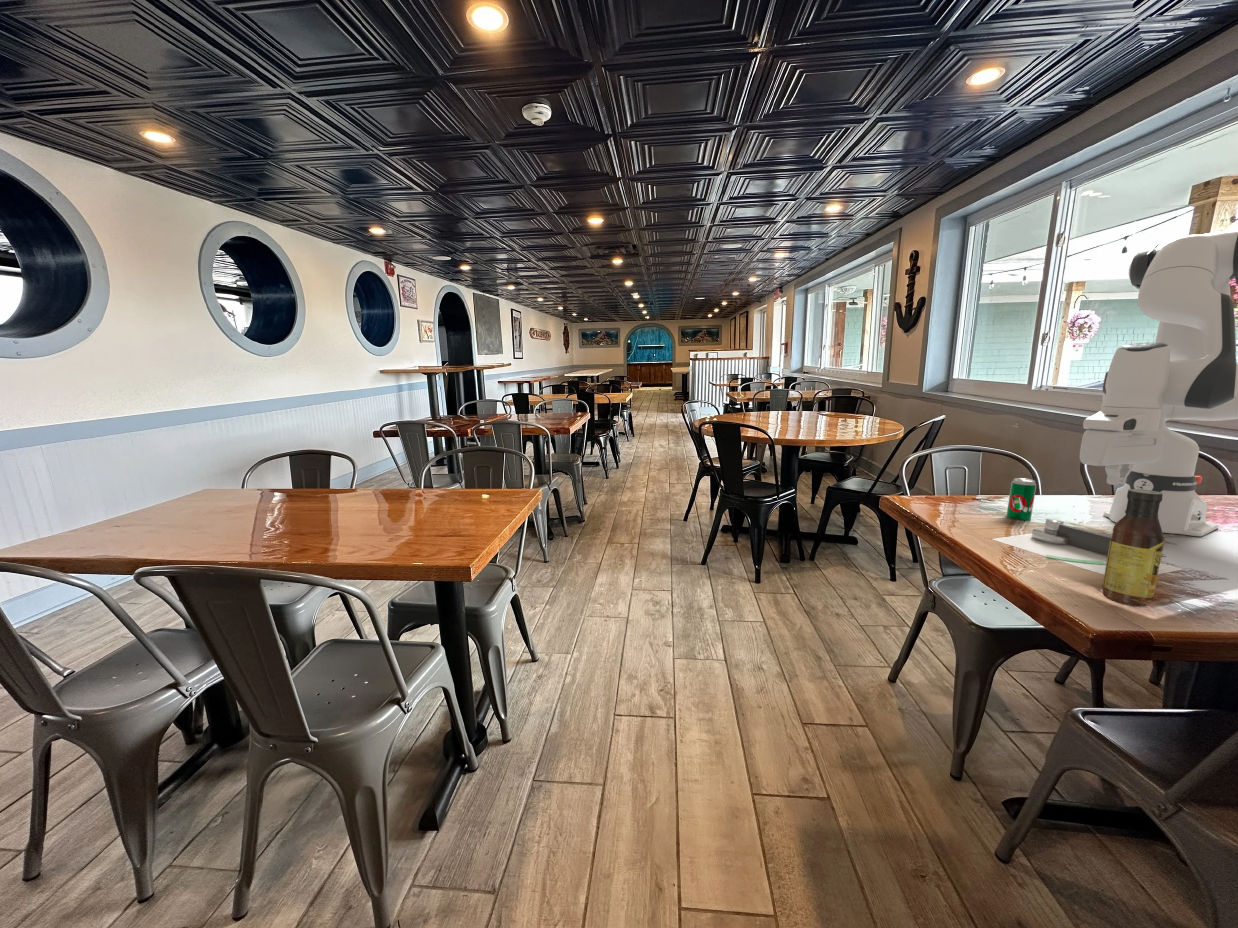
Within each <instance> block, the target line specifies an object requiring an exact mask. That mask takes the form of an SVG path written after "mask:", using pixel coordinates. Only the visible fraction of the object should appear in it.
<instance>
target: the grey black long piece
mask: <svg viewBox="0 0 1238 928" xmlns="http://www.w3.org/2000/svg"><path fill="white" fill-rule="evenodd" d="M1031 533H1032V537H1033V538H1034V539H1036V540H1039V541H1042V542H1047V543H1052V544H1059V545H1070V546H1073V547H1077V548H1080V549H1084V550H1087V551H1091V552H1094V553H1098V554H1101V555H1105V556H1108V551H1109V545H1110V540H1111V539H1112V535H1111V536H1110V535H1106V534H1103V533H1099V532H1095V531H1091V530H1087V529H1083V528H1079V527H1074V526H1071V525H1068V524H1064V521H1062V520H1059V519H1055V518H1046V519H1045V522H1044V527H1043V528H1041V527H1040V528H1039V527H1038V528H1034V529H1032V532H1031Z"/></svg>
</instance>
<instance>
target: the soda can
mask: <svg viewBox="0 0 1238 928" xmlns="http://www.w3.org/2000/svg"><path fill="white" fill-rule="evenodd" d="M1036 489H1037V483H1036V480H1034V479H1031V478H1025V477H1024V478H1023V477H1014V478H1013V480H1012V481H1011V483H1010V490H1009V496H1008V497H1009V498H1008V503H1007V510H1006V516H1005V517H1007V518H1008V519H1012V520H1015V521H1023V522H1025V521H1031V520H1032V516H1033V515H1032V514H1033V510H1034V509H1033V507H1034V503H1035V502H1034V501H1035V496H1036Z"/></svg>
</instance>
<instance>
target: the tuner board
mask: <svg viewBox="0 0 1238 928" xmlns="http://www.w3.org/2000/svg"><path fill="white" fill-rule="evenodd" d="M991 540H992V541H996V542H999V543H1002V544H1004V545H1008V546H1011V547H1015V548H1018V549H1019V550H1020V549H1021V550H1024V551H1025V552H1026V551H1027V552H1030V553H1033V554H1036V555H1038V556H1039V555H1040V556H1043V557H1046V558H1047V559H1050V560H1051V559H1052V560H1055V561H1059V562H1061V563H1064V564H1068V565H1071V566H1074V567H1077V568H1080V569H1084V570H1087V571H1090V572H1093V573H1096V574H1100V575H1102V576H1104V574H1105V569H1106V563H1107V557H1108V556H1105V555H1101V554H1098V553H1094V552H1091V551H1087V550H1084V549H1080V548H1077V547H1073V546H1070V545H1059V544H1052V543H1047V542H1042V541H1039V540H1036V539H1034V538H1033V537H1032V532H1031V533H1030V532H1029V533H1026V534H1025V533H1024V534H1018V535H1017V534H1015V535H1011V536H1003V537H996V538H991ZM1182 570H1184V569H1183V568H1180V567H1176V566H1173V565H1170V564H1165V563H1161V562H1160V566H1159V571H1158V575H1163V574H1166V573H1171V572H1177V571H1182Z"/></svg>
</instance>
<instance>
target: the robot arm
mask: <svg viewBox="0 0 1238 928" xmlns="http://www.w3.org/2000/svg"><path fill="white" fill-rule="evenodd" d="M1128 278H1129V281H1130V283H1131V285H1132V286H1133V287H1135V288H1137V289H1139V290H1138V293H1137V295H1138V297H1137V306H1138V308H1139V310H1140V311H1141V312H1142V313H1143V314H1144V315H1146V316H1147V317H1149V318H1151V319H1152V320H1156V321H1158V327H1157V332H1156V337H1155V341H1154V342H1137V343H1129V344H1124V345H1122V346H1119V347H1118V348H1116V350H1115V353H1114V354H1113V356H1112V360H1111V362H1110V364H1109V368H1108V371H1106V372H1105V375H1104V379H1103V385H1102V393H1103V394H1102V397H1101V399H1102V403H1101V406H1100V411H1097V412H1096V413H1095V414H1092V415H1091V416H1088V417H1087V418H1085V419H1083V424H1082V428H1083V429H1085V431H1084V432H1083V435H1082V437H1081V441H1080V449H1079V460H1080V462H1081V464H1083V465H1088V466H1095V467H1104V466H1105V467H1104V469H1105V474H1106V476H1107V477H1106V483H1107V484H1108V485H1113V486H1117V485H1123V486H1121V487H1117V489H1116V491H1115V493H1114V497H1113V500H1112V503H1111V507H1110V511H1104V512H1103V516H1104V517H1105V518H1106V517H1107V518H1109V519H1110V521H1112V522H1113V523H1115V524H1116V523H1117V522H1118V521H1119V520H1120V519H1122V518H1123V517H1124V516H1125V515H1126V513H1125V510H1126V509H1127V503H1128V499H1127V494H1128V490H1129V489H1142V490H1151V491H1156V492H1161V493H1162V494H1163V497H1162V501H1161V502H1160V504H1159V511H1158V519H1159V522H1160V526H1161V529H1162V533H1163V534H1165V533H1166V534H1177V535H1186V536H1194V537H1203V536H1205V535H1207V534H1210V533H1211V532H1213V531H1215V530H1217V529H1218V528H1219V523H1215V522H1212V521H1208V520H1206V517H1207V513H1208V504H1207V503H1206V502H1205V501H1204V500H1203V499H1202V498H1201V497H1200V496H1199V494H1197V493H1196V491H1195V490H1197V485H1200V484H1201V483H1202V482H1203V476H1202V475H1195V471H1196V467H1197V463H1198V458H1199V453H1200V447H1199V445H1198V443H1197V442H1196V440H1194V439H1193V438H1190V437H1188V436H1186V435H1184V434H1183V433H1180V432H1176V431H1174V430H1172V429H1169V427H1167V425H1166V422H1167V421H1169V420H1180V421H1181V420H1183V421H1184V420H1185V421H1186V420H1187V421H1207V422H1209V421H1210V422H1213V421H1214V422H1217V421H1219V422H1220V421H1231V420H1238V362H1237V354H1236V353H1237V341H1236V340H1237V338H1236V337H1237V336H1236V335H1237V334H1236V332H1237V331H1236V330H1237V329H1236V318H1235V308H1234V307H1235V306H1234V302H1233V300H1232V297H1231V295H1232V294H1231V285H1230V282H1231V281H1232V280H1234V279H1235V284H1236V285H1238V229H1230V230H1222V231H1215V232H1208V233H1203V234H1188V235H1184V236H1180V237H1177V238H1175V239H1172V240H1170V241H1168V242H1167V243H1164V244H1161V245H1160V244H1155V245H1152V246H1149V247H1146V248H1144V249H1142V250H1140V251H1139V252H1138V253H1137V254H1135V255H1134V256H1133V258H1132V261H1131V262H1130V265H1129V268H1128Z"/></svg>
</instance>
